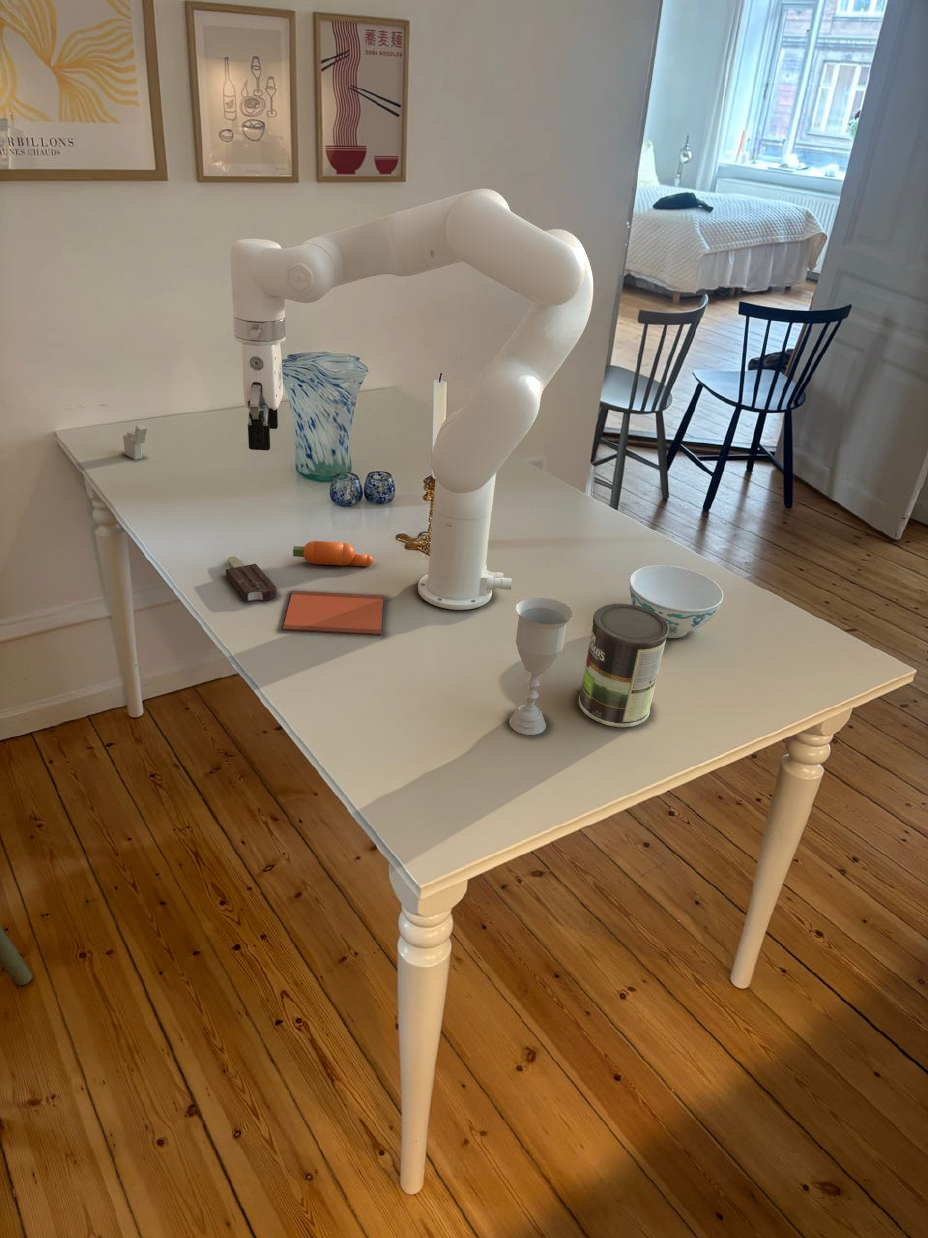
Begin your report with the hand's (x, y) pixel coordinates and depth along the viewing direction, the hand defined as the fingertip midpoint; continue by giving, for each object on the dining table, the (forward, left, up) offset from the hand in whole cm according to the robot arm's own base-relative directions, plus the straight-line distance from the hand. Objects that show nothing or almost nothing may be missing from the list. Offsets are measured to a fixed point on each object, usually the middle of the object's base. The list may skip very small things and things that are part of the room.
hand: (263, 438), depth 147 cm
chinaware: (-67, +12, -24) cm, 72 cm away
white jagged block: (+34, -47, -24) cm, 62 cm away
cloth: (-13, +13, -24) cm, 30 cm away
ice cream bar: (+3, +4, -24) cm, 24 cm away
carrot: (-10, -4, -24) cm, 26 cm away
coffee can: (-54, +35, -24) cm, 69 cm away
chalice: (-41, +40, -24) cm, 62 cm away
